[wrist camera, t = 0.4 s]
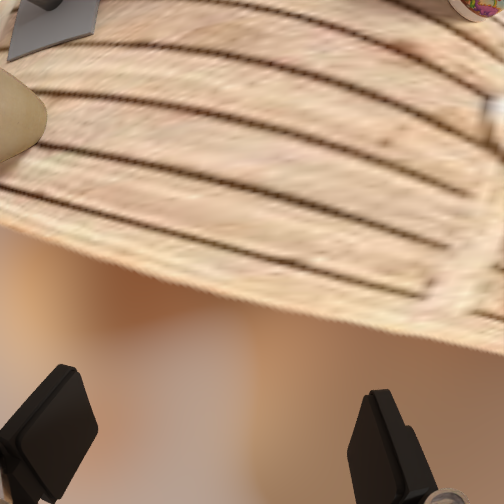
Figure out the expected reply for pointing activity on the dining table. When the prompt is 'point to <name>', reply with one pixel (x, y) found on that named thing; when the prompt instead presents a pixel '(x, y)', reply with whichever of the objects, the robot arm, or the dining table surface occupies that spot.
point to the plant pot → (19, 116)
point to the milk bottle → (477, 8)
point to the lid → (50, 24)
